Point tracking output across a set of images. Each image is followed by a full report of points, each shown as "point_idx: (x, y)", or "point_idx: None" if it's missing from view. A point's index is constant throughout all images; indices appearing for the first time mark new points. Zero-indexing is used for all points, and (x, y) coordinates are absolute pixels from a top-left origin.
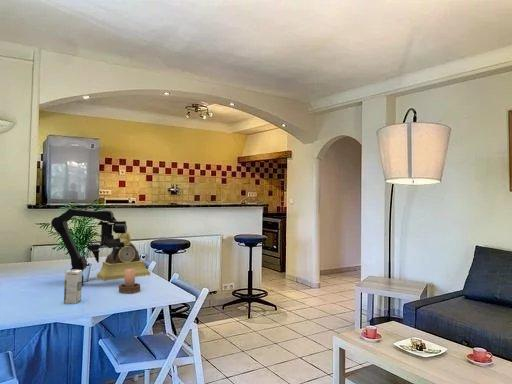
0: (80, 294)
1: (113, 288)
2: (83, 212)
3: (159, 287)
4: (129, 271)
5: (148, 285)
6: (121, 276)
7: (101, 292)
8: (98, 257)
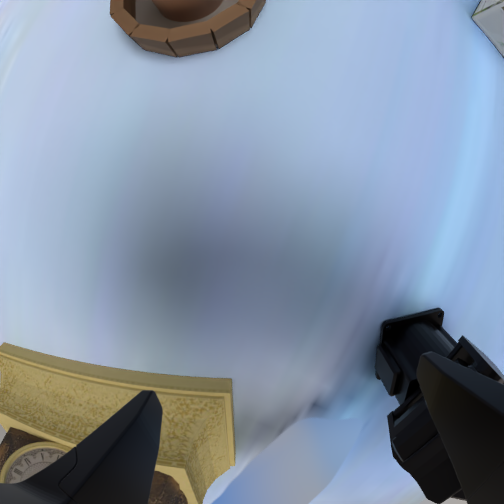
0: (489, 4)
1: (255, 119)
2: None
3: (29, 35)
4: None
5: (39, 98)
6: (121, 378)
7: (365, 66)
8: (479, 390)
